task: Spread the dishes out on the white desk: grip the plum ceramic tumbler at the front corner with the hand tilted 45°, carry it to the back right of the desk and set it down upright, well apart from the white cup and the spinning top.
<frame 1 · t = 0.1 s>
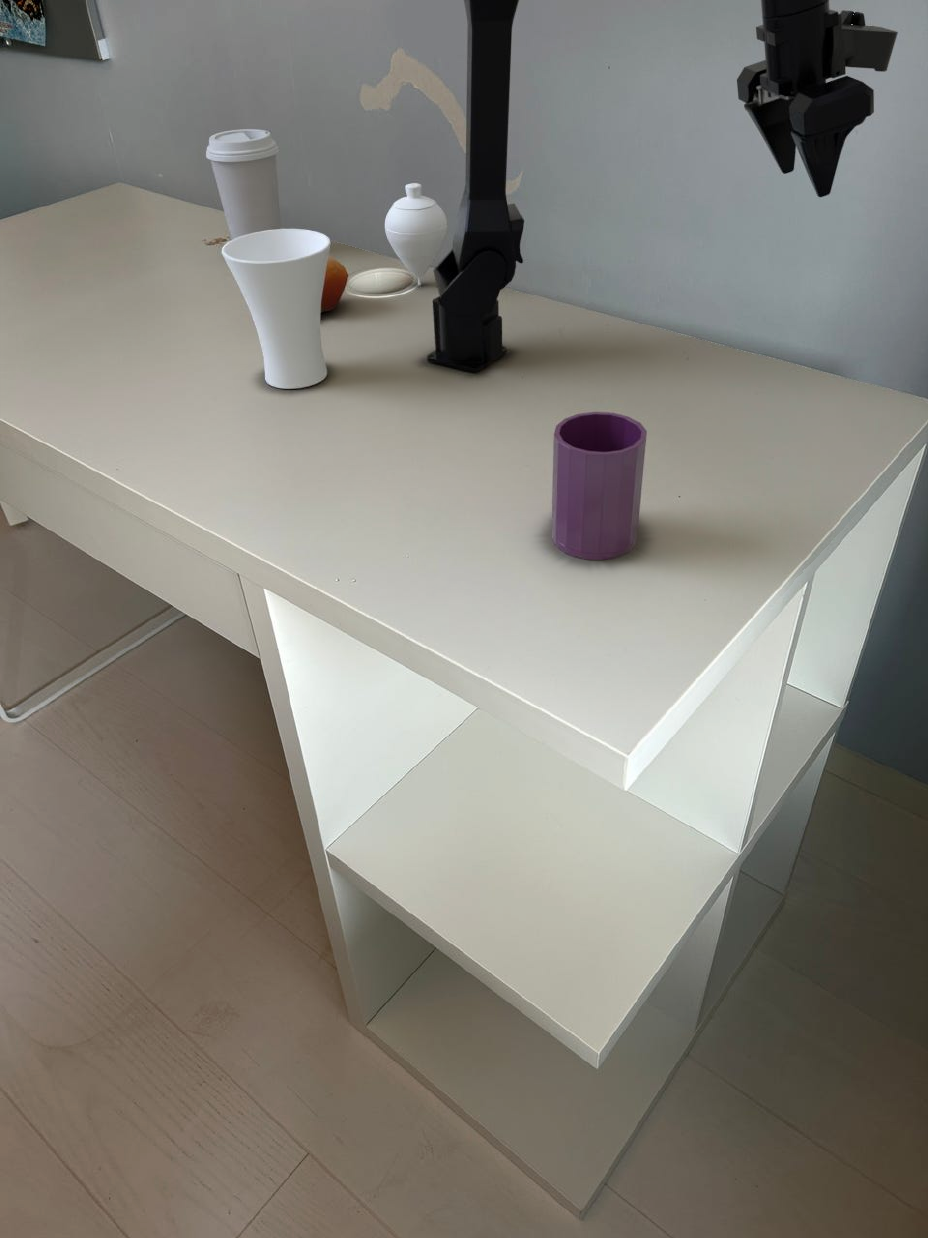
hand: (805, 183, 95), 15 cm above the table, tool pointing down, fingers open, 9 cm apart
spinning top: (419, 286, 121), on the table
cup: (296, 378, 100), on the table
tumbler: (594, 536, 74), on the table
coffee cup: (259, 254, 134), on the table
fruit: (317, 311, 115), on the table
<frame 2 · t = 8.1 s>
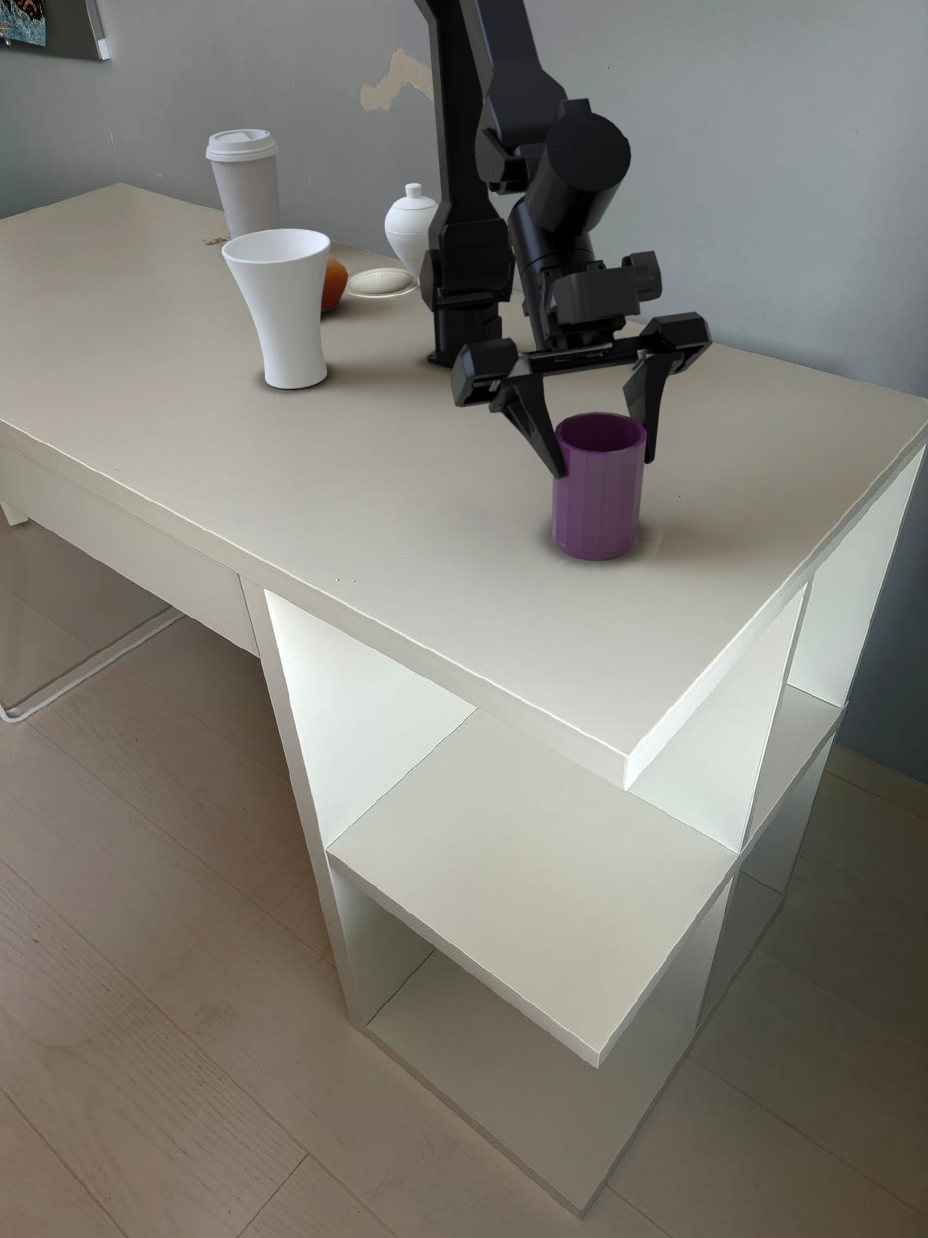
hand: (605, 470, 69), 7 cm above the table, tool tilted 45°, fingers closed on tumbler, 7 cm apart
tumbler: (594, 536, 74), on the table, touching gripper
everything else where it was.
when the fingers open (7 cm above the table, at t = 14.0 s): tumbler stays where it is, on the table.
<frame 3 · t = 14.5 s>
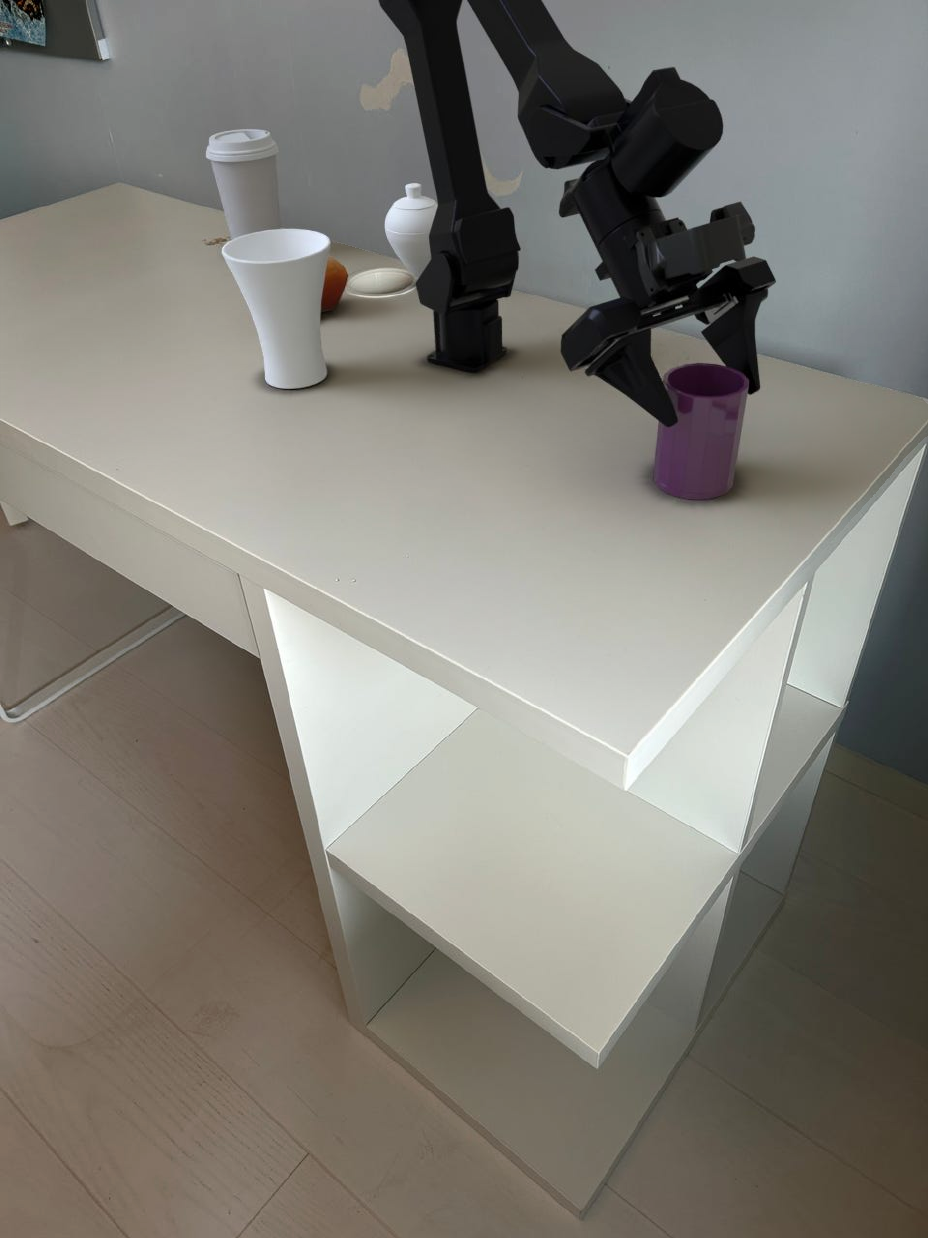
hand: (715, 408, 75), 7 cm above the table, tool tilted 45°, fingers open, 9 cm apart
tumbler: (692, 479, 81), on the table
everything else where it was.
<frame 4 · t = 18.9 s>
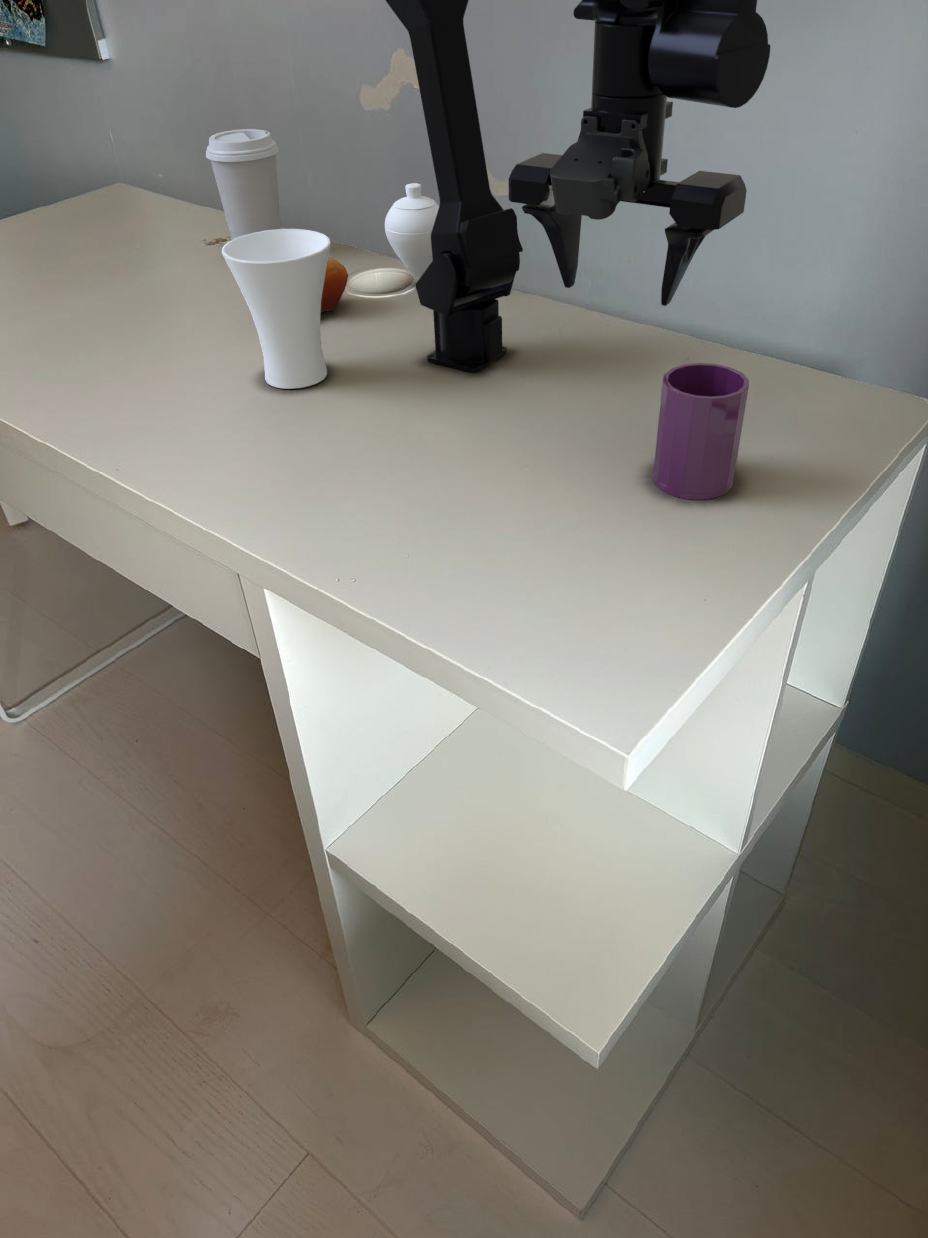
hand: (616, 295, 82), 12 cm above the table, tool pointing down, fingers open, 9 cm apart
nothing on the table moved.
at the end: tumbler tilted 0°; the gripper is holding nothing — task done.
